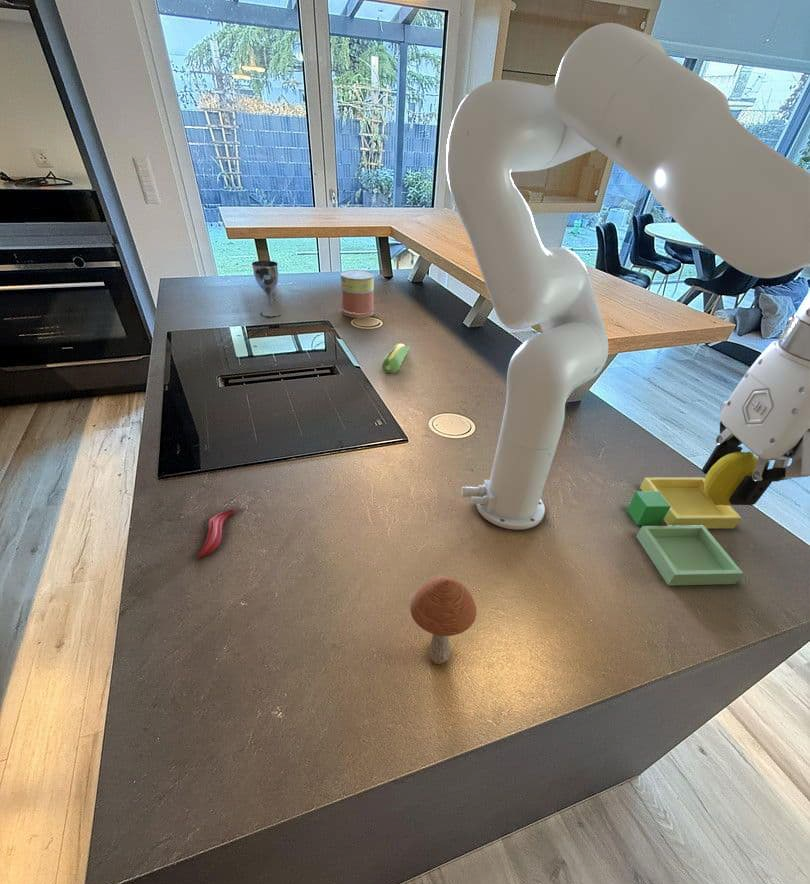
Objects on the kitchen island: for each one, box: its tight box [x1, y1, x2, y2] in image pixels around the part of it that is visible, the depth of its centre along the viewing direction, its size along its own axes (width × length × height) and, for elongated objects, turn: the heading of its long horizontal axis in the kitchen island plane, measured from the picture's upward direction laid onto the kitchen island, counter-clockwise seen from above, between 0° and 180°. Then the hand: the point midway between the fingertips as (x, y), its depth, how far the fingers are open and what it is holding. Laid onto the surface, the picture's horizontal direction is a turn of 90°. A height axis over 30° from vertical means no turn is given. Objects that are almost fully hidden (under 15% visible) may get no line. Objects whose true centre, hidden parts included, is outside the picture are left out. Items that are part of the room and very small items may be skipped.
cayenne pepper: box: [196, 509, 237, 559], centre depth 76 cm, size 12×5×2 cm, turn 161°
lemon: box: [704, 451, 758, 506], centre depth 58 cm, size 6×6×8 cm
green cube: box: [626, 490, 671, 527], centre depth 85 cm, size 4×4×4 cm
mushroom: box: [409, 575, 477, 665], centre depth 57 cm, size 8×8×15 cm
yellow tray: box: [639, 477, 742, 530], centre depth 89 cm, size 13×13×3 cm
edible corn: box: [381, 342, 411, 374], centre depth 131 cm, size 5×20×4 cm, turn 167°
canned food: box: [340, 269, 375, 319], centre depth 159 cm, size 11×11×12 cm
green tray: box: [636, 525, 744, 586], centre depth 78 cm, size 12×12×3 cm
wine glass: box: [251, 260, 279, 308], centre depth 152 cm, size 8×8×15 cm
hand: (727, 486), depth 59 cm, fingers closed on lemon, 5 cm apart
